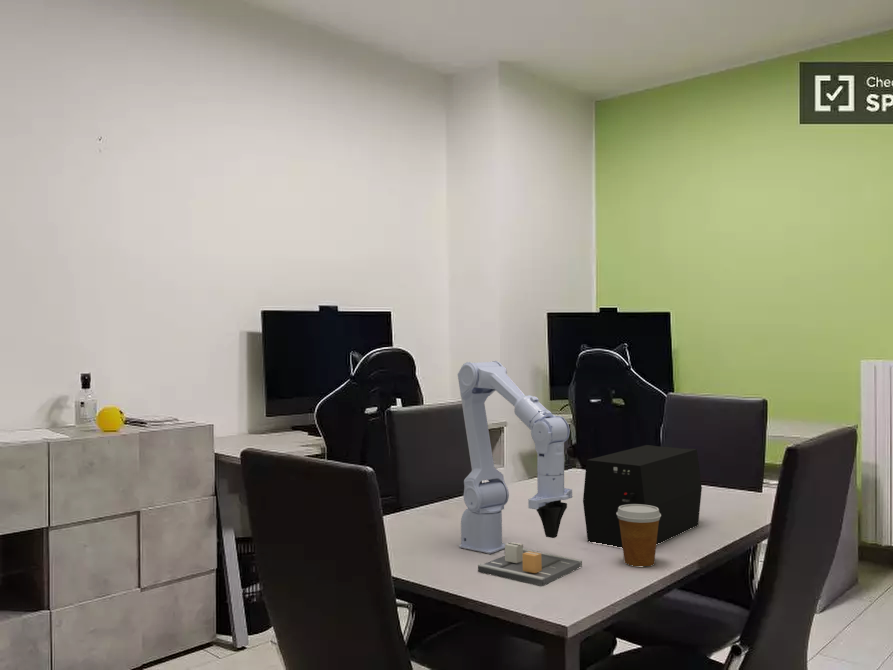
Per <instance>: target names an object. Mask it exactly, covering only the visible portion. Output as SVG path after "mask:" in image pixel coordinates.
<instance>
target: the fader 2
mask: <svg viewBox="0 0 893 670" xmlns="http://www.w3.org/2000/svg"><path fill="white" fill-rule="evenodd" d="M541 570H542V562H541V553H536V552H531V551H528V552H525V553H523V571H526V572H531V573H537V572H539V571H541Z"/></svg>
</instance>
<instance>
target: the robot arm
mask: <svg viewBox="0 0 893 670" xmlns="http://www.w3.org/2000/svg"><path fill="white" fill-rule="evenodd" d="M457 379H458V387H459V393H460V398H461V406H462V411H463V412H462V413H463V419H464V427H465V432H466V439H467V447H468V452H469V458H470V459H469V460H470V466H471V467H470V468H471V471H470V472H469V474H468V475H467V476H466V477H465V478H464V480H463V485H464V488H463V489H464V490H463V501H464V504H465V506H466V509H464V511H463V512H462V515H461V518H460V540H461V541H460V544H459V546H458V547H459V548H461V549H466V550H470V551H474V552H480V553H485V554H494V553H497V552H499V551H502V550H505V544H506V543H504V542H503V511H504V510H505V506H506V505H507V503H508V501H509V498H510V497H509V496H510V493H509V489H508V486H507V484H506V482H505V478H504V474H503V473H502V472H501V471H499V470H498V469H497V468H496V467H495V464H494V458H493V457H494V456H493V451H492V445H491V438H490V437H491V436H490V431H489V425H488V417H487V412H486V405H485V402H486V401H487V400H488V398H489V397H491V395H492V394H493V393H494V392H497V393H498V394H499V395H501V397H503V398H504V399H505V400H507V401H508V403H510V404H511V405H512V406H513V407H514V409H513V410H514V414H515V416H516V417H517V418H518V419H519V420H520V421H521V422H522V423H523V424H524V425H525V426H526V427H527V428H528V429H529V430H530V435H531V439H532V441H533V443H534V450H535V452H536V455H537V458H536V459H537V462H536V463H537V464H536V465H537V471H536V472H537V481H536V482H537V493H535V494H534V496H532V497H531V498H529V499H528V502H527V503H528V507H527V508H528V509H531V510H536V512H537V513H538V514H537V515H538V516H539V517H540V520H541V523H542V527H543V532H544V534H545V535H544V536H545V537H546V538H549V539H550V538H551V539H555V538H557V537H558V534H559V530H560V525H561V522H562V518H563V515H564V514H565V512H566V510H567V508H568V503H566V502H562V501H567V500H569V499H572V498H573V488H566V487H565V442H566V441H568V440H569V438H570V430H571V429H570V425H569V423H568V422H567V420H566V419H565V417H564V416H561V415H555V414H553V413H552V412H551V411H550V410H549V409H547V408H546V407H545V406H544V405H543V404H542V403H541V402H540V401H539V400H540V399H539V398H538V397H537V396H534V395H526V394H524V392H523V391H522V390H521V389H520V387H518V385H517V384H516V383H515V382H514V381H513V380H512V378H511V377H510V376H509V375H508V370H507V368H506V367H505V366H503V364H502V363H501V362H500V361H498V360H495V361H493V360H492V361H479V362H478V361H477V362H471V361H466V362H464V363H463V364H462V365H461V367H460V369H459V371H458V372H457ZM483 481H487V482H483Z"/></svg>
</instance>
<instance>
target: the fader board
mask: <svg viewBox="0 0 893 670" xmlns="http://www.w3.org/2000/svg"><path fill="white" fill-rule="evenodd" d="M528 551H531V552H536V553H541V562H542V570H541V571H539V572H537V573H531V572H526V571H523V561H521V562H519V563H513V562H508V561H505V555H502V556H500V557H497V558H494V559H493V560H490V561H487V562H484V563H478V565H477V571H478V573H483V574H486V575H490V574H491V576H495V577H500V578H505V579H509V580H512V581H517V582H522V583H526V584H530V585H535V586H539V587H544V586H546V585H548V584H550V583H552V582H554V581H556V580H558V579H560V578H562V577H564V576H563V575H565V574H567V575H568V573H569V572H571V571H573V570H575V571H577V570H578V569H577V568H579V567H581V568H583V560H582V559H578V558H572V557H568V556H562V555H557V554H552V553H547V552H540V551H535V550H531V549H528V548H527V549H525V548H523V553H525V552H528ZM576 569H577V570H576ZM579 569H580V568H579ZM573 572H574V571H573ZM571 573H572V572H571ZM569 574H570V573H569ZM561 576H562V577H561ZM565 576H566V575H565ZM557 578H558V579H557ZM553 580H554V581H553ZM551 581H552V582H551ZM549 582H550V583H549ZM547 583H548V584H547ZM545 584H546V585H545Z"/></svg>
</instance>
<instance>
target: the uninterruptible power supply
mask: <svg viewBox="0 0 893 670" xmlns="http://www.w3.org/2000/svg"><path fill="white" fill-rule="evenodd" d="M701 479H702V477H701V471H700V464H699V456H698V449H697V448H679V447H670V446H656V445H649V444H644V445H640V446H637V447H633V448H630V449H624V450H621V451H618V452H614V453H609V454H606V455H602V456H596V457H594V458H589V459H587V460H586V463H585V473H584V485H583V497H582V503H583V504H582V505H583V513H584V520H585V521H584V522H585V529H586V537H587V538H586V539H587V542H588V541H590V542H596V543H602V544H607V545H613V546H617V547H622V548H623V546H622V539H621V532H620V525H619V518H618V516H617V515H616V513H617V512H618V507H619V506H622V505H628V504H643V505H651V506H655V507H657V508H658V509H659V512H660V514H661V517H660V520H659V524H658V533H657V542H656V544H658V543H661V542H663V541H665V540H667V539H669V538H671V537H673V536H675V537H677V536H679V535H681V534H683V533H682V532H684V531H686V530H688V529H690V528H692V529H693V527H694V528H696V527H698V526H699V521H700V511H701V500H702V491H703V490H702V489H703V488H702V487H703V485H702V480H701ZM697 525H698V526H697ZM695 526H696V527H695ZM690 530H691V529H690ZM688 531H689V530H688ZM686 532H687V531H686ZM680 533H681V534H680ZM684 533H685V532H684ZM678 534H679V535H678ZM676 535H677V536H676ZM673 538H674V537H673ZM671 539H672V538H671ZM669 540H670V539H669ZM667 541H668V540H667ZM665 542H666V541H665ZM663 543H664V542H663ZM661 544H662V543H661ZM658 545H659V544H658Z"/></svg>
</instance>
